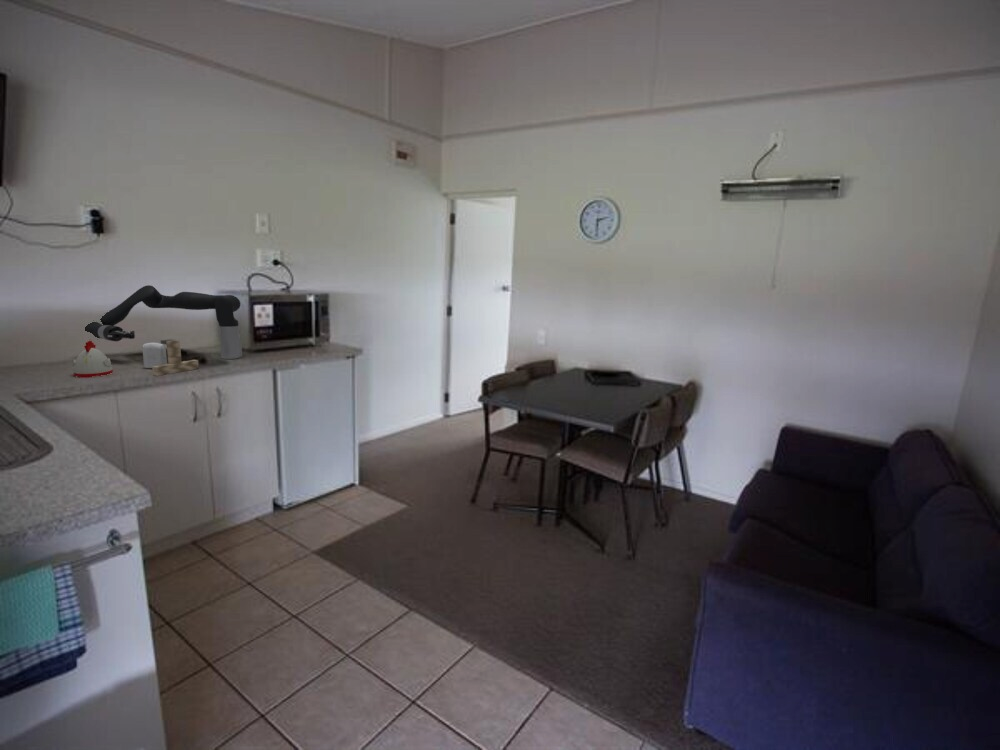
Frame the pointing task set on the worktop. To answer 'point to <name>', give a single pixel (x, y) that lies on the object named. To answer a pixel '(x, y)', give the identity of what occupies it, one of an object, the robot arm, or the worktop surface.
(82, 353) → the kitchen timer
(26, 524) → the worktop surface
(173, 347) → the retention stand
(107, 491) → the worktop surface
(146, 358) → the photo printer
